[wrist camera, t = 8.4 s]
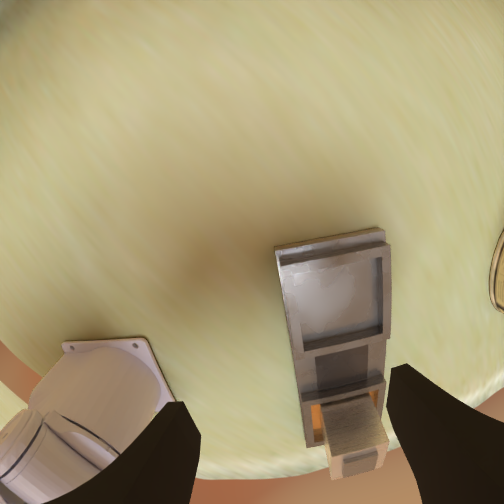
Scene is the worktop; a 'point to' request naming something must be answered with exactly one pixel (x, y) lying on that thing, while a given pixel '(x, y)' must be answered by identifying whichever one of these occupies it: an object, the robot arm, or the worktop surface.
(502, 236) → the coffee can
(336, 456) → the block
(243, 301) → the worktop surface
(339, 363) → the rail
